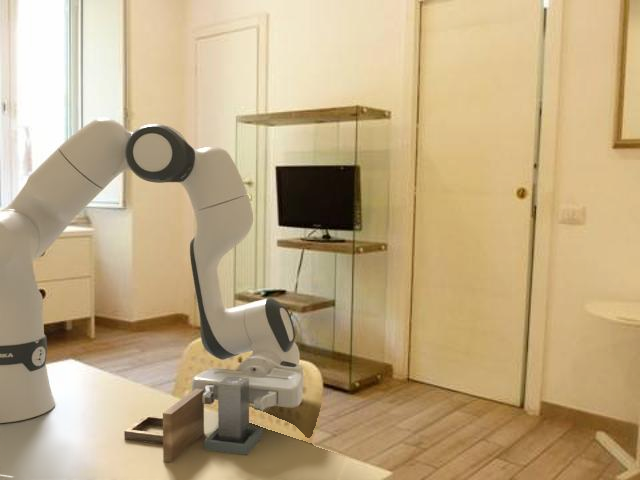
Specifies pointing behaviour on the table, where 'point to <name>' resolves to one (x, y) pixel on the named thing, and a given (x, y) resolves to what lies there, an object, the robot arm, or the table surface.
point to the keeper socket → (231, 447)
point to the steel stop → (233, 410)
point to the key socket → (138, 435)
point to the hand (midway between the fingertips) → (231, 402)
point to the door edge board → (182, 425)
